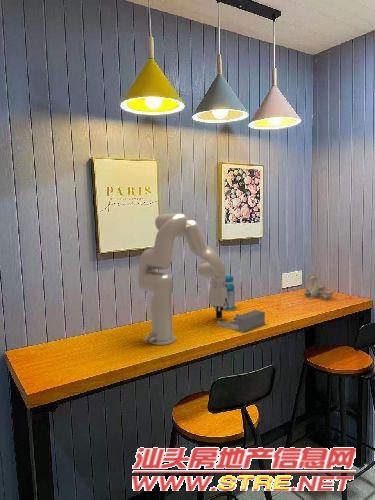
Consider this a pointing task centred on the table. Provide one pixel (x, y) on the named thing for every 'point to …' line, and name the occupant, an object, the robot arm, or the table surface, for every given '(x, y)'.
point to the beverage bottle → (230, 293)
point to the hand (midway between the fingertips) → (219, 317)
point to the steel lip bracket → (245, 321)
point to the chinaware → (316, 289)
